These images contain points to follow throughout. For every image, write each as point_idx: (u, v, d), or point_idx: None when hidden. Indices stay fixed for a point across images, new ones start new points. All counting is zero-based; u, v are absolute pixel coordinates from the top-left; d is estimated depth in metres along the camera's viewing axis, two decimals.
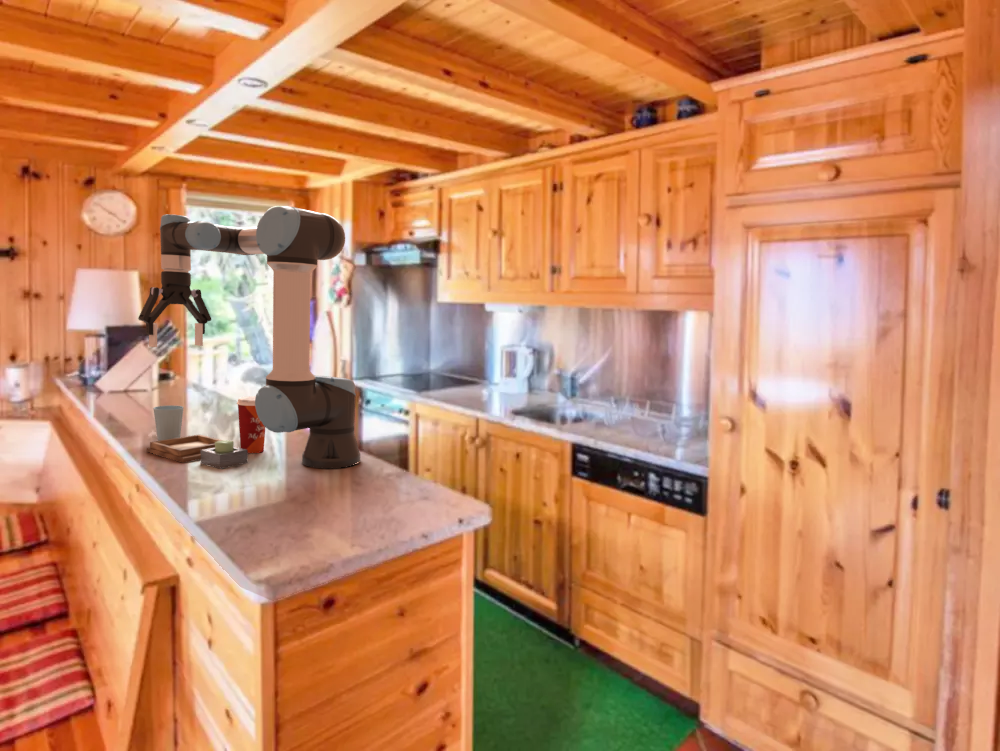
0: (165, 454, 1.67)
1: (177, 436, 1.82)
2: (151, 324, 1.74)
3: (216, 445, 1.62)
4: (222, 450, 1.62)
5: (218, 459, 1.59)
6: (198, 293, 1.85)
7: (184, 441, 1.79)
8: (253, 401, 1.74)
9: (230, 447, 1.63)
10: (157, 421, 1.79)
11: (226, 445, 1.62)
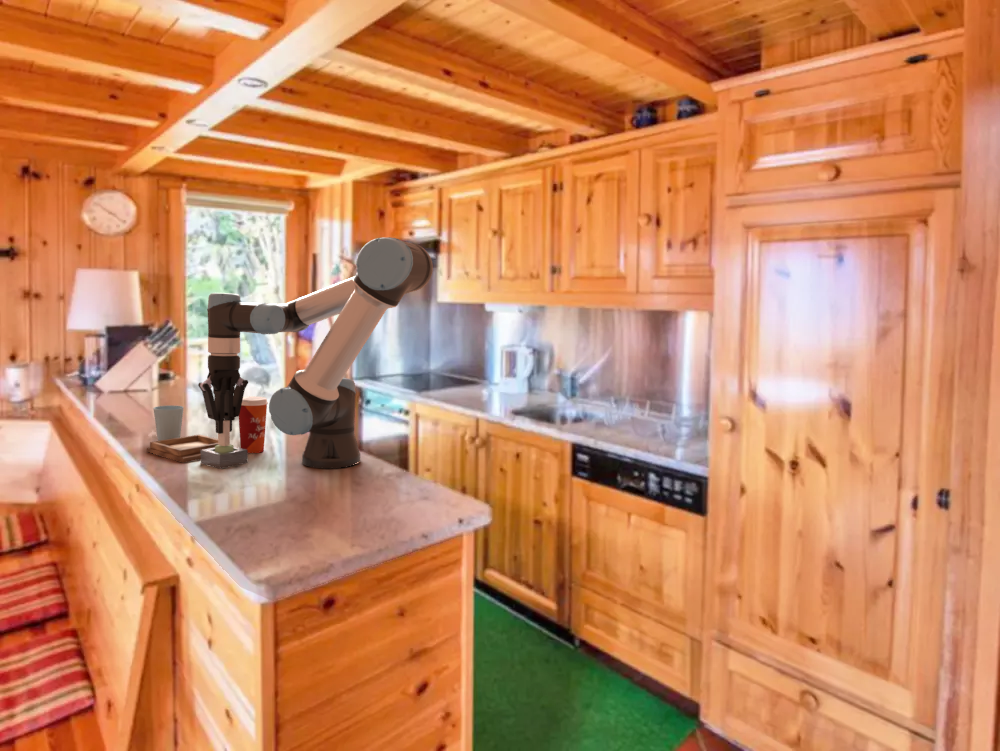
0: (165, 454, 1.67)
1: (177, 436, 1.82)
2: (221, 422, 1.62)
3: (216, 449, 1.62)
4: None
5: (218, 459, 1.59)
6: (244, 383, 1.66)
7: (184, 441, 1.79)
8: (253, 401, 1.74)
9: None
10: (158, 421, 1.79)
11: (226, 449, 1.62)
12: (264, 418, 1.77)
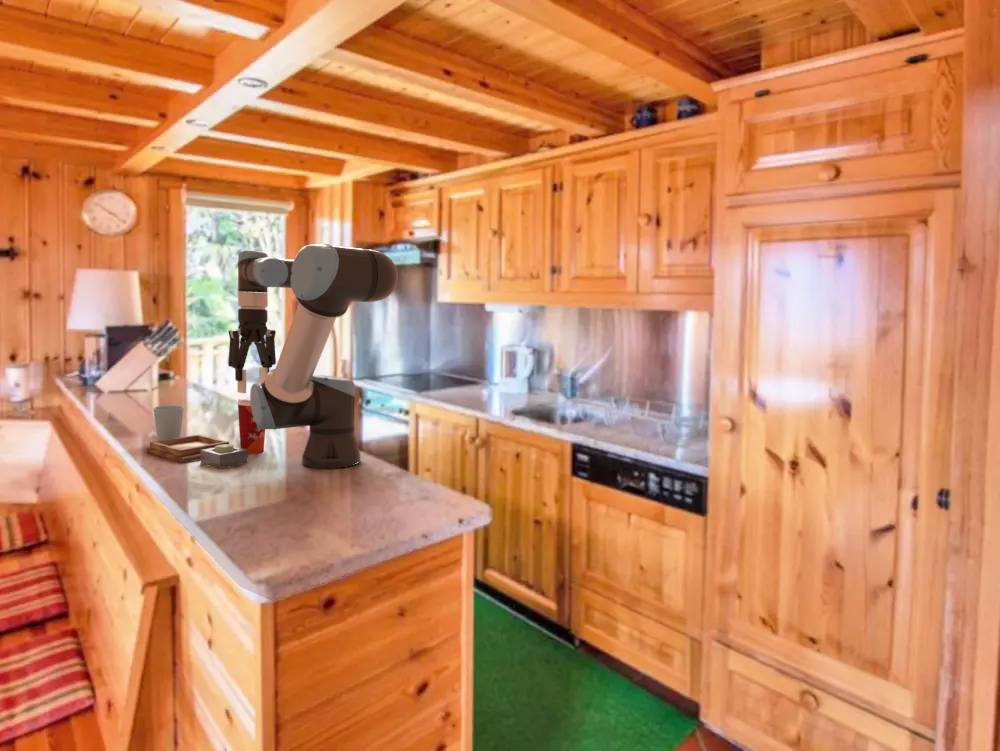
0: (165, 454, 1.67)
1: (177, 436, 1.82)
2: (240, 370, 1.72)
3: (216, 449, 1.62)
4: None
5: (218, 459, 1.59)
6: (272, 333, 1.79)
7: (184, 441, 1.79)
8: None
9: None
10: (158, 421, 1.79)
11: (226, 449, 1.62)
12: None
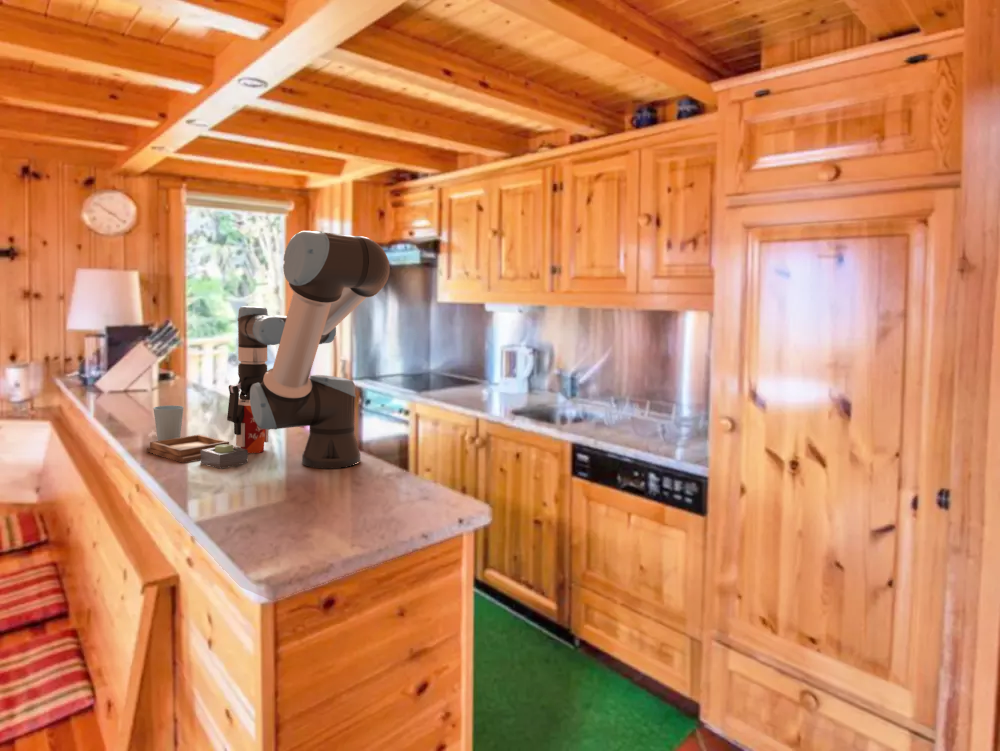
0: (165, 454, 1.67)
1: (177, 436, 1.82)
2: (239, 424, 1.73)
3: (216, 449, 1.62)
4: None
5: (218, 459, 1.59)
6: None
7: (184, 441, 1.79)
8: None
9: None
10: (157, 421, 1.79)
11: (226, 449, 1.62)
12: None
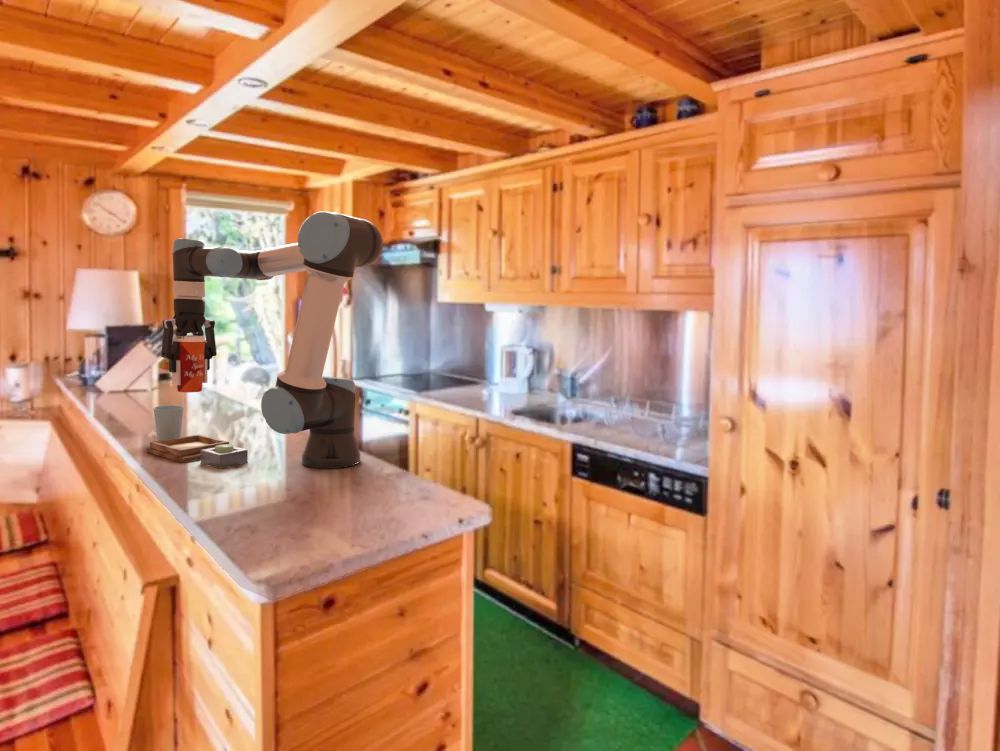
0: (165, 454, 1.67)
1: (177, 436, 1.82)
2: (174, 361, 1.67)
3: (216, 449, 1.62)
4: None
5: (218, 459, 1.59)
6: (211, 324, 1.74)
7: (184, 441, 1.79)
8: (189, 337, 1.67)
9: None
10: (158, 421, 1.79)
11: (226, 449, 1.62)
12: (201, 356, 1.71)
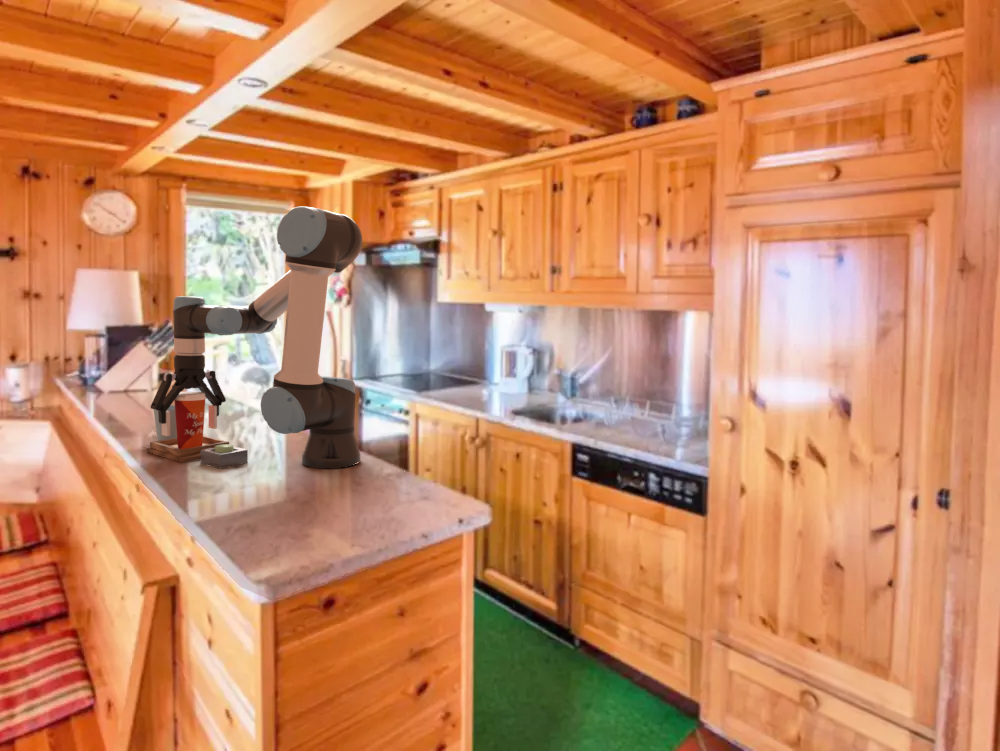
0: (165, 454, 1.67)
1: None
2: (164, 412, 1.66)
3: (216, 449, 1.62)
4: None
5: (218, 459, 1.59)
6: (212, 375, 1.76)
7: None
8: (189, 396, 1.69)
9: None
10: (158, 421, 1.79)
11: (226, 449, 1.62)
12: (202, 414, 1.72)
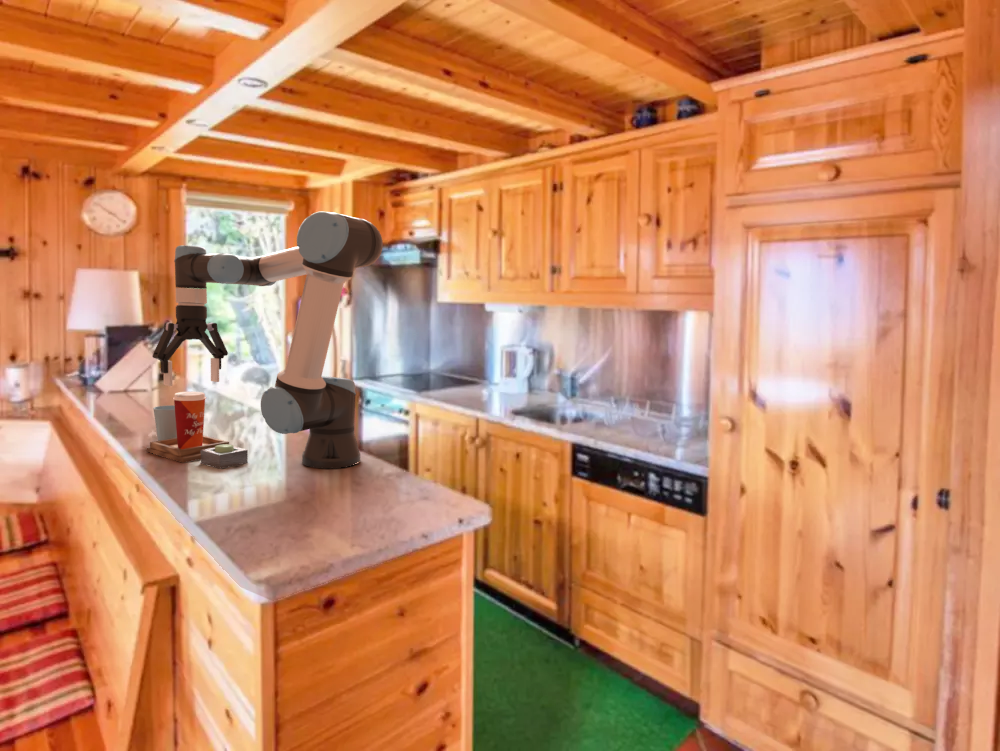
0: (165, 454, 1.67)
1: None
2: (166, 362, 1.65)
3: (216, 449, 1.62)
4: None
5: (218, 459, 1.59)
6: (214, 327, 1.75)
7: None
8: (189, 396, 1.69)
9: None
10: (157, 421, 1.79)
11: (226, 449, 1.62)
12: (202, 414, 1.72)
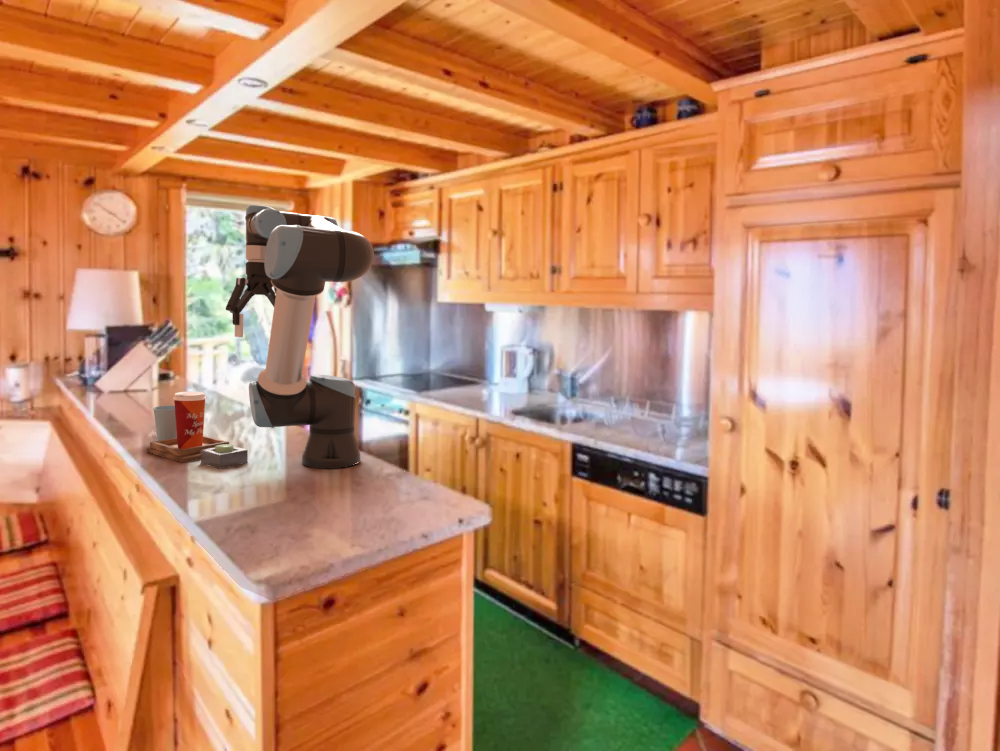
0: (165, 454, 1.67)
1: None
2: (238, 314, 1.75)
3: (216, 449, 1.62)
4: None
5: (218, 459, 1.59)
6: None
7: None
8: (189, 396, 1.69)
9: None
10: (157, 421, 1.79)
11: (226, 449, 1.62)
12: (202, 414, 1.72)
